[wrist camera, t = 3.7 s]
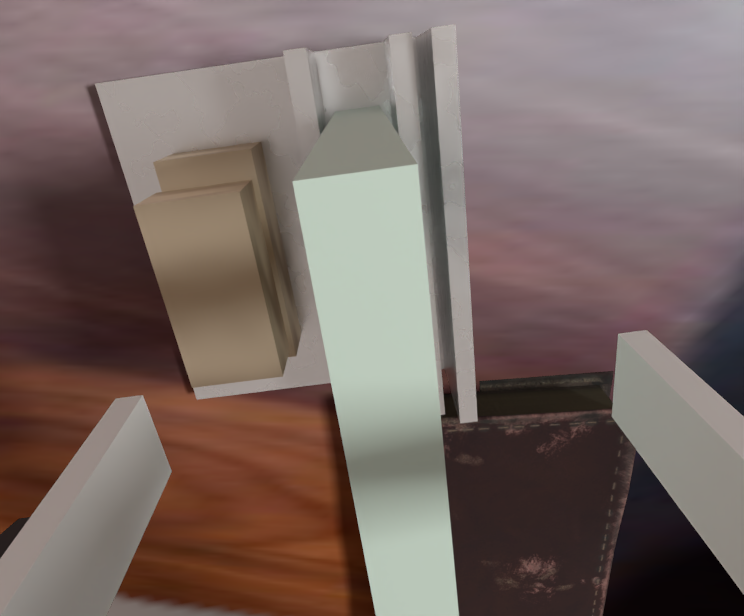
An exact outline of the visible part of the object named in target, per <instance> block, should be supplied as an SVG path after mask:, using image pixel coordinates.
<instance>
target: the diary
mask: <svg viewBox="0 0 744 616" xmlns="http://www.w3.org/2000/svg"><path fill="white" fill-rule="evenodd" d="M612 379H613V371H608V372H595V373H582V374H569V375H555V376H542V377H529V378H516V379H503V380H490V381H480V392H476V400H477V418H478V421H476V422H468V423H460V421H459V418H458V414H457V411H456V408H455V404H454V401H453V397H452V394H443V395H444V407H445V414H444V415H441V425H442V436H443V446H444V457H445V468H446V479H447V490H448V501H449V512H450V523H451V534H452V545H453V555H454V566H455V577H456V588H457V599H458V610H459V616H603V611H604V605H605V600H606V594H607V589H608V583H609V577H610V572H611V566H612V560H613V555H614V549H615V545H616V540H617V536H618V532H619V527H620V523H621V519H622V515H623V511H624V507H625V503H626V499H627V495H628V491H629V486H630V480H631V474H632V469H633V463H634V457H635V452H636V449H635V447H634V446H633V445H632V443H631V442H630V440H629V439H628V438H627V436H626V435H625V434H624V432H623V431H622V430H621V428H620V427H619V426H618V424H617V423H616V422H615V420H614V419H613V418H612V407H613V403H612V401H611V400H610V399H609V397H610V391H611V385H612Z"/></svg>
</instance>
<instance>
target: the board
mask: <svg viewBox="0 0 744 616" xmlns="http://www.w3.org/2000/svg"><path fill="white" fill-rule="evenodd" d="M292 182H293V187H294V192H295V198H296V203H297V208H298V213H299V218H300V224H301V229H302V234H303V239H304V244H305V250H306V255H307V260H308V265H309V270H310V276H311V281H312V286H313V291H314V297H315V302H316V307H317V312H318V317H319V323H320V328H321V333H322V338H323V343H324V349H325V354H326V359H327V364H328V369H329V375H330V380H331V385H332V390H333V396H334V401H335V406H336V411H337V416H338V422H339V427H340V432H341V437H342V442H343V448H344V453H345V458H346V463H347V468H348V474H349V479H350V484H351V489H352V494H353V500H354V505H355V510H356V515H357V521H358V526H359V531H360V536H361V541H362V547H363V552H364V557H365V562H366V567H367V573H368V578H369V583H370V588H371V593H372V599H373V604H374V609H375V614H376V616H459V610H458V599H457V588H456V577H455V566H454V555H453V545H452V534H451V523H450V512H449V501H448V490H447V479H446V468H445V457H444V446H443V436H442V425H441V414H440V403H439V392H438V381H437V370H436V359H435V348H434V337H433V327H432V316H431V305H430V294H429V283H428V272H427V261H426V250H425V239H424V228H423V218H422V207H421V196H420V185H419V174H418V164H417V162H416V161H415V159H414V158H413V156H412V155H411V153H410V152H409V150H408V149H407V147H406V146H405V144H404V143H403V141H402V139H401V138H400V136H399V135H398V133H397V132H396V130H395V129H394V127H393V126H392V124H391V123H390V121H389V120H388V118H387V117H386V115H385V113H384V112H383V110H382V109H381V107H380V106H379V105H378V106H371V107H363V108H356V109H349V110H342V111H335V113H334V114H333V116H332V118H331V119H330V121H329V122H328V124H327V126H326V127H325V129H324V131H323V132H322V134H321V135H320V137H319V139H318V140H317V142H316V144H315V145H314V147H313V148H312V150H311V152H310V153H309V155H308V157H307V158H306V160H305V162H304V163H303V165H302V166H301V168H300V170H299V171H298V173H297V175H296V176H295V178H294V179H293V181H292Z"/></svg>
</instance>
